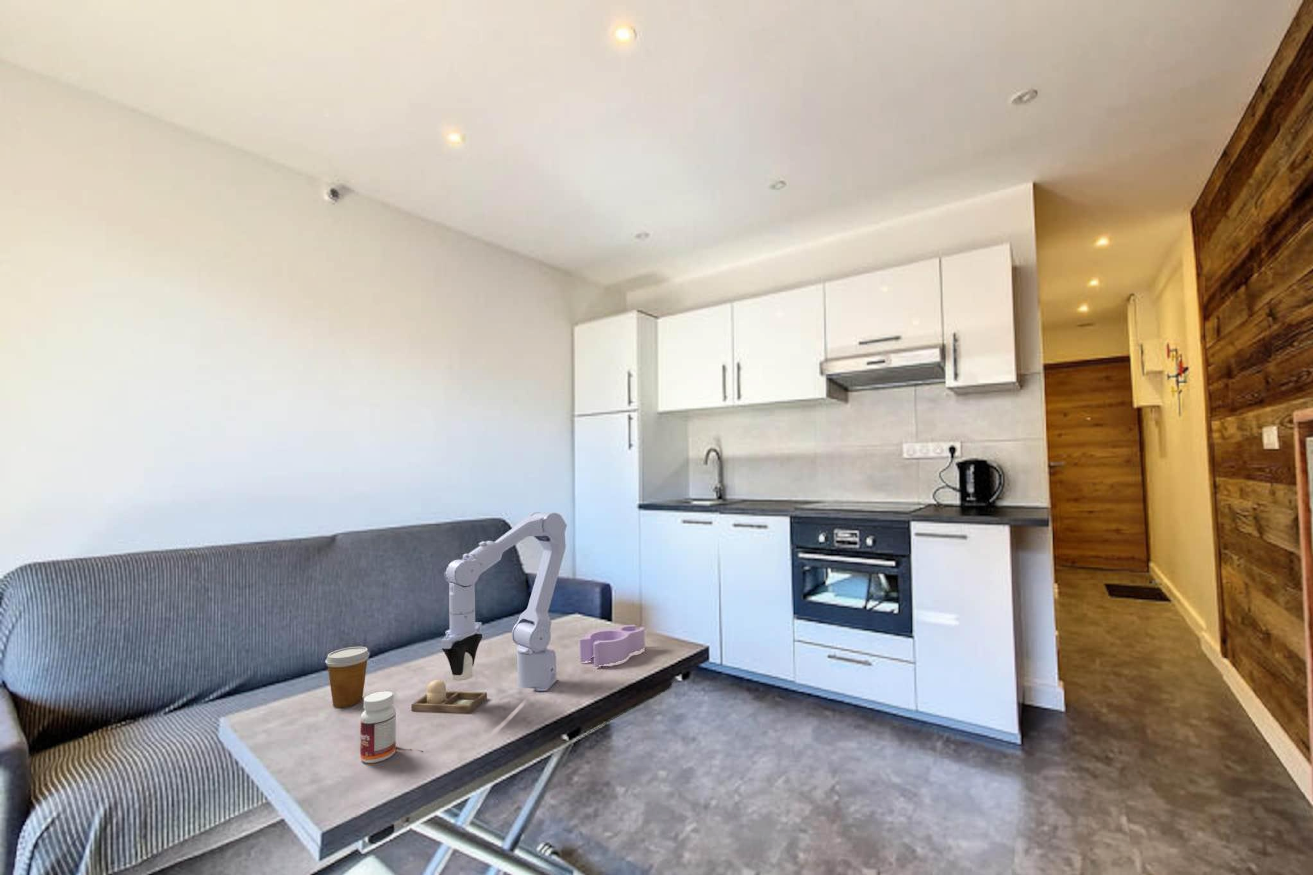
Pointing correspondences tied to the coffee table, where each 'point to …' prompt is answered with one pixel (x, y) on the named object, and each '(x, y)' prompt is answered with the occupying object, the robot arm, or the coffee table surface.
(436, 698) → the brown egg
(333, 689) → the disposable coffee cup
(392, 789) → the coffee table surface
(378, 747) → the pill bottle
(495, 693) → the coffee table surface
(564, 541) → the robot arm
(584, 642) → the clip
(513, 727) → the coffee table surface
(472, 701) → the egg crate
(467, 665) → the cream egg
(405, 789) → the coffee table surface
